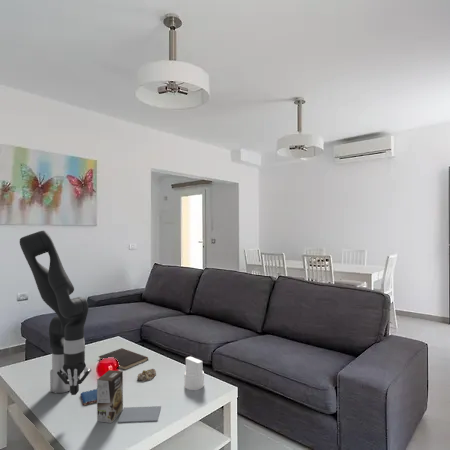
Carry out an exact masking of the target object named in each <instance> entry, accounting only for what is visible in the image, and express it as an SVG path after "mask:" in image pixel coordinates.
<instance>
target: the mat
mask: <svg viewBox="0 0 450 450" xmlns="http://www.w3.org/2000/svg"><path fill="white" fill-rule="evenodd" d="M161 407H162V406H161V405H159V406H157V405H156V406H153V405H152V406H133V407H132V406H129V407H128V406H125V407H124V406H123V411H122V412H121V413H120V414H119V415H120V416H119V418H118V420H117V424H119V423H121V424H123V423H145V422H146V423H147V422H148V423H149V422H158V421H159V417H160V412H161Z"/></svg>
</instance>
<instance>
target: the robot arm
mask: <svg viewBox="0 0 450 450" xmlns="http://www.w3.org/2000/svg"><path fill="white" fill-rule="evenodd" d="M19 246H20V249H21V251H22V253H23V255H24V257H25V259H26V263H27V265H28V266H29V268H30V270H31V273H32V275H33V278H34V281H35V284H36V286H37V287H36V288H37V289H38V293H39V295H40V297H41V299H42V301H43V302H44V303H45V304H46V305H47V306H48V307H49V308H50V309H52V310H53V312H54V313H55V314H56V315H55V316H54V317H52V319H51V320H50V323H49V326H48V334H49V335H48V336H49V346H50V349H51V369H50V371H49V376H50V377H49V378H50V379H49V385H50V386H49V387H50V390H49V391H50V393H51V392H52V393H55V394H62V393H66V392H67V393H68V392H69V394H70V395H71V396H76V395H77V394H78V393H79V391H80V390H79V389H80V388H79V387H80V385H81V384H82V383H83V382H84V381H85V380H86V378H88V375H90V373H91V372H92V368H88V367H87V364H86V363H85V361H86V355H85V354H86V344H85V343H86V342H85V324H86V321H87V317H88V314H89V303H88V300H87V299H86V298H85V297H84V296H77V297H73V298H71V297H70V295H72V294H73V293H74V291H75V286H74V285H73V283H72V281H71V279H70V278H69V276H68V274H67V273H66V270H65V268H64V266H63V264H62V261H61V259H60V256H59V253H58V250H57V249H56V246H55V244H54V242H53V240H52V237H51V236H50V235H49V233H48V232H47V231H46V230H40V231H37V232H34V233H30V234H27V235H24V236H23V237H21V238H20V239H19ZM46 253H48V255H49V257H48V258H49V265H48V268H46V267H45V266H44V265H42V264H41V263H40V262H39V261H38V260H37V258H36V257H39V256H40V255H43V254H46ZM82 373H83V375H82V376H81V374H82Z"/></svg>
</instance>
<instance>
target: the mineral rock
mask: <svg viewBox="0 0 450 450" xmlns="http://www.w3.org/2000/svg"><path fill="white" fill-rule="evenodd" d="M156 376H157V371H156V370H155V369H154V368H150V369H146V370H142V372H141V373H138V374H137V376H136V377H137V380H139V381H142V382H146V381H151V380H152V379H154V378H155V377H156Z"/></svg>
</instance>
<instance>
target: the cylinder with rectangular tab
mask: <svg viewBox="0 0 450 450" xmlns="http://www.w3.org/2000/svg"><path fill="white" fill-rule="evenodd" d="M203 369H204V367H203V360H201V359H199V358H196V357H193V356H187V357H185V371H184V377H183V378H184V388H185V389H186V390H188V391H189V390H190V391H197V390H201V389H202V388H204V386H205V375H204V374H205V372H204V370H203Z"/></svg>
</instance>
